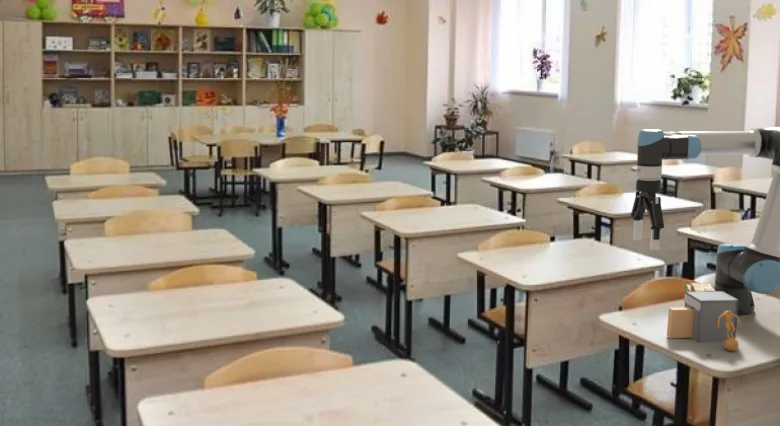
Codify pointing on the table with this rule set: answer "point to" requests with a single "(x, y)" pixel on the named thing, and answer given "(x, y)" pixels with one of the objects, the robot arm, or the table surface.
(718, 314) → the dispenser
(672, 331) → the light orange rectangular block
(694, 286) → the stack of blocks
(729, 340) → the figurine
